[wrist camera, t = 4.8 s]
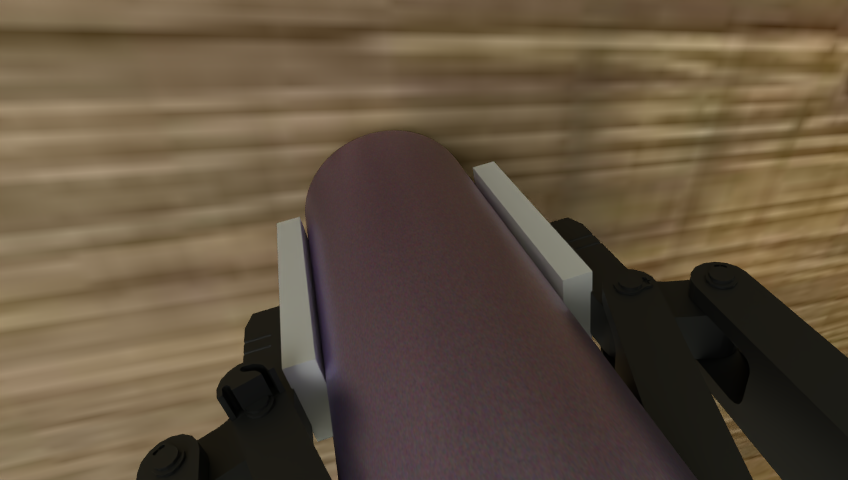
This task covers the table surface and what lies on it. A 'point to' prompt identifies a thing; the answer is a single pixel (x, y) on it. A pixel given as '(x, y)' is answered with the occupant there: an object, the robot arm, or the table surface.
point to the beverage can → (455, 335)
